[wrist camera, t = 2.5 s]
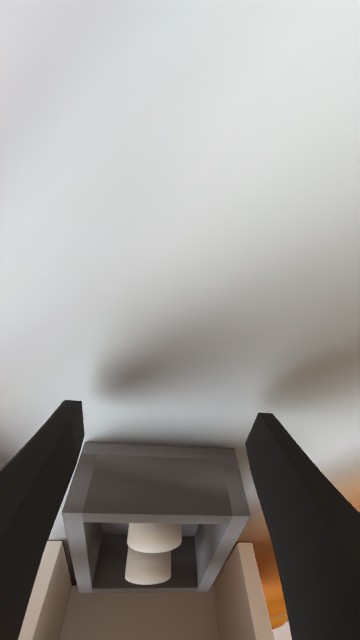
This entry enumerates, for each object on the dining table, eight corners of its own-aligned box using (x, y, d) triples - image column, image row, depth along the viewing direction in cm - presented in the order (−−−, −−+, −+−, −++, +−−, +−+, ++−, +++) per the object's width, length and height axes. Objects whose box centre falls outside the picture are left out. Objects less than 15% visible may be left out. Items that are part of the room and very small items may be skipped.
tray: (201, 524, 19) (208, 591, 15) (94, 522, 18) (78, 593, 15) (232, 442, 14) (250, 516, 11) (87, 435, 13) (61, 512, 10)
